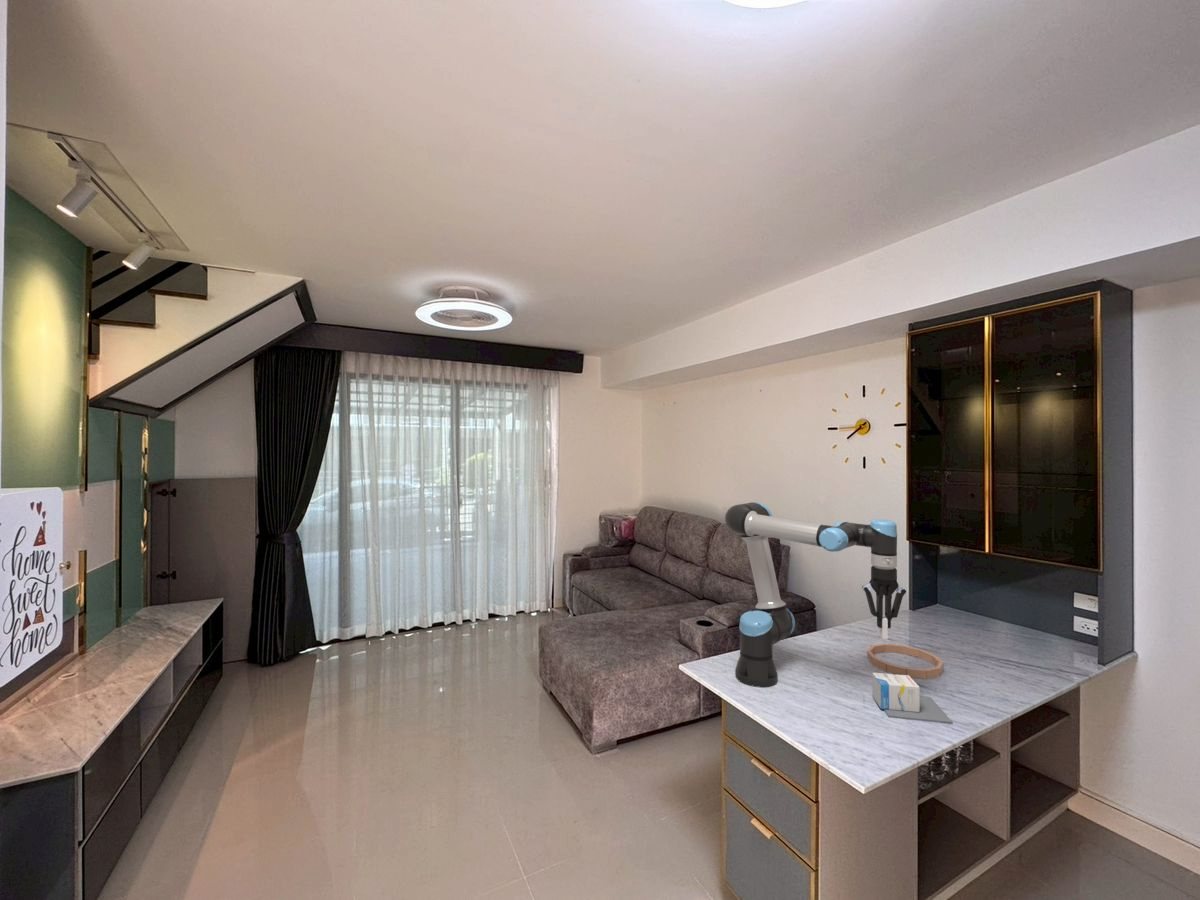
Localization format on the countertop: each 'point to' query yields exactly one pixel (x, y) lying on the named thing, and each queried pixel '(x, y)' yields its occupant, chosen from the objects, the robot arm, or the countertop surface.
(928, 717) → the mat
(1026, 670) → the countertop surface
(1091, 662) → the countertop surface
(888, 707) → the ink box
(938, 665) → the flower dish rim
